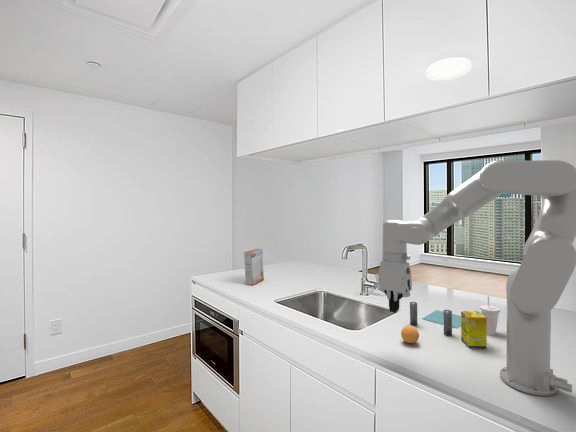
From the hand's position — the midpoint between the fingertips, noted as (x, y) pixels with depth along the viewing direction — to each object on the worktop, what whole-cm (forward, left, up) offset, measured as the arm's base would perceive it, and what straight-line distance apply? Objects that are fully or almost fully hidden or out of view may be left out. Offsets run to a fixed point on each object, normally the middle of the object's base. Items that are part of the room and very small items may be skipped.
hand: (394, 310), depth 105 cm
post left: (+6, -26, -14) cm, 30 cm away
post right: (-7, -26, -14) cm, 30 cm away
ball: (0, -10, -11) cm, 15 cm away
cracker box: (+110, -20, -14) cm, 112 cm away
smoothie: (-17, -38, -14) cm, 44 cm away
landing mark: (0, -41, -14) cm, 43 cm away
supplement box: (-16, -24, -14) cm, 32 cm away
